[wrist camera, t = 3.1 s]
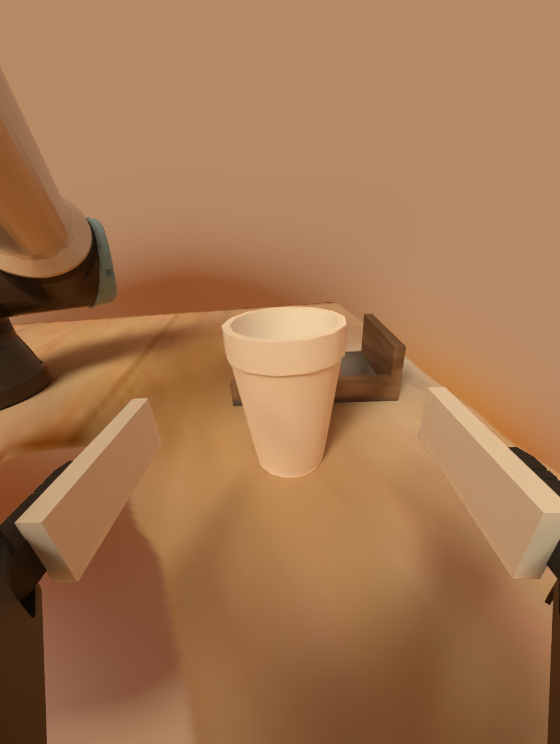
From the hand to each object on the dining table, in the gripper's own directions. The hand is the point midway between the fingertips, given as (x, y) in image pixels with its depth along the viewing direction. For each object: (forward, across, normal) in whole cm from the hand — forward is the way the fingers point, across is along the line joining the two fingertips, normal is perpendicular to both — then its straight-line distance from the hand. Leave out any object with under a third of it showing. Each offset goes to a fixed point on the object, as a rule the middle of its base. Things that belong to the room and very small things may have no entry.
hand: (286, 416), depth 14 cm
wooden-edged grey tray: (+26, +3, -11) cm, 28 cm away
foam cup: (+10, 0, -11) cm, 15 cm away
